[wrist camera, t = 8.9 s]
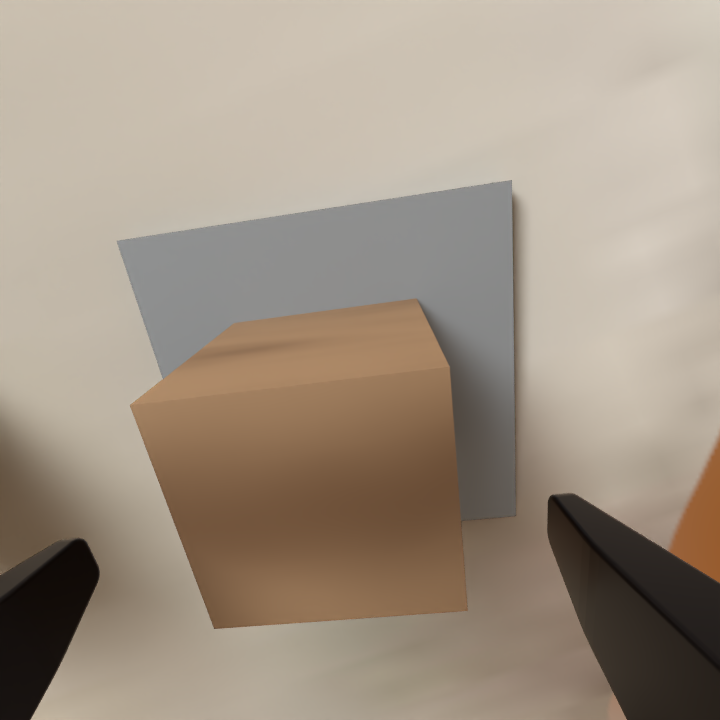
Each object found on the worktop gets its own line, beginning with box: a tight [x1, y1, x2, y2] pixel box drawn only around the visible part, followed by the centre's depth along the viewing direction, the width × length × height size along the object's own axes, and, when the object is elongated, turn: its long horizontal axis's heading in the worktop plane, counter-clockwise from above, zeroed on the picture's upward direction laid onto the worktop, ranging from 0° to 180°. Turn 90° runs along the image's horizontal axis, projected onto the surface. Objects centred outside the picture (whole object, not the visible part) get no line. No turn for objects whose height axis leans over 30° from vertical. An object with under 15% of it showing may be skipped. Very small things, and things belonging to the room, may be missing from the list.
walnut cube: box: [130, 298, 468, 629], centre depth 11 cm, size 6×6×6 cm
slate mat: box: [117, 180, 516, 521], centre depth 14 cm, size 12×12×1 cm
